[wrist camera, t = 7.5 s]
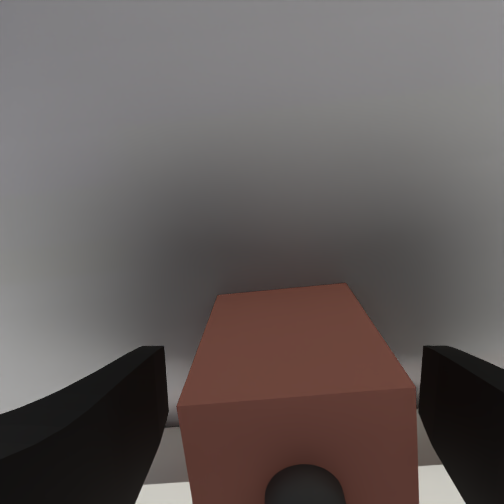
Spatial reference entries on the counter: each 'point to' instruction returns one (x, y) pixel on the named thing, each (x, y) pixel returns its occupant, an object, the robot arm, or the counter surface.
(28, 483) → the robot arm
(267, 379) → the plug
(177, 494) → the socket board
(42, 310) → the counter surface
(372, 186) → the counter surface
